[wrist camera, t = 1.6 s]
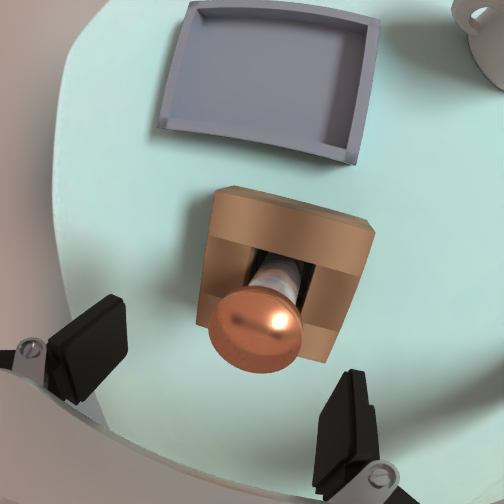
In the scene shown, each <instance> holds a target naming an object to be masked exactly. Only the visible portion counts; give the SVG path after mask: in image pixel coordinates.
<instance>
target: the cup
mask: <svg viewBox="0 0 504 504" xmlns="http://www.w3.org/2000/svg"><path fill="white" fill-rule="evenodd" d="M483 7H488V8H487V9H486V10H485V11H484V12H483V13H482V14H481V15H480V16H478V17H477V18H476V19H475V20H474V19H473V18H471V14H472V13H473V12H474V11H476V10H478V9H480V8H483ZM451 11H452V16H453V18H454V20H455V21H456V23H457V24H458V26H459V27H460V28H461V29H462V30H463V31H465V32H466V33H467V34H468V41H469V47H470V49H471V52H472V55H473V57H474V59H475V61H476V63H477V65H478V66H479V68H480V69H481V70H482V72H483V73H484V74H485V76H486V77H487V78H488V79H489V80H490V81H491V82H492V83H494V84H495V85H496V86H497V87H499V88H500V89H502V90H504V0H454V1H453V4H452V7H451Z"/></svg>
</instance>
